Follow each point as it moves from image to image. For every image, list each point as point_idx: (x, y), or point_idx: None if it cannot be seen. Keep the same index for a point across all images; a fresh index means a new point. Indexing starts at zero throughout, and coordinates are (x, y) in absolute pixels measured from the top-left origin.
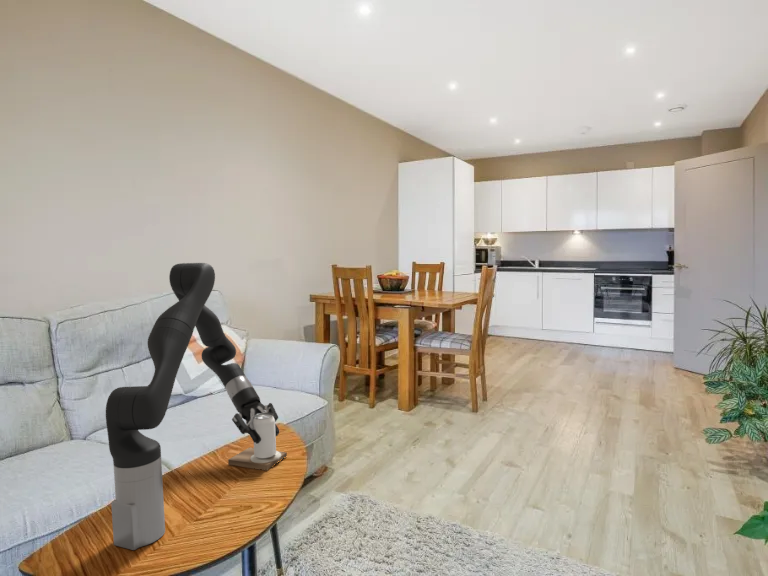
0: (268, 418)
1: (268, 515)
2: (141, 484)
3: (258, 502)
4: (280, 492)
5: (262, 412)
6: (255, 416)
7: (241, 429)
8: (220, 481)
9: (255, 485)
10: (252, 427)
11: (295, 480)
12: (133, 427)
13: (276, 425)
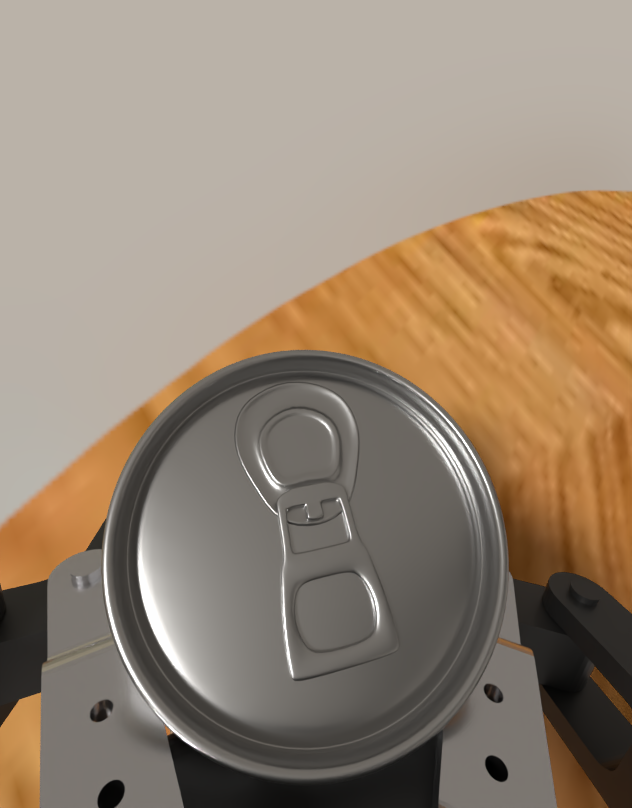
0: (336, 365)
1: (535, 213)
2: None
3: (524, 282)
4: (435, 267)
5: (166, 779)
6: (410, 720)
7: (593, 703)
8: (574, 565)
9: (471, 382)
10: None
11: (338, 280)
12: None
13: (97, 532)
